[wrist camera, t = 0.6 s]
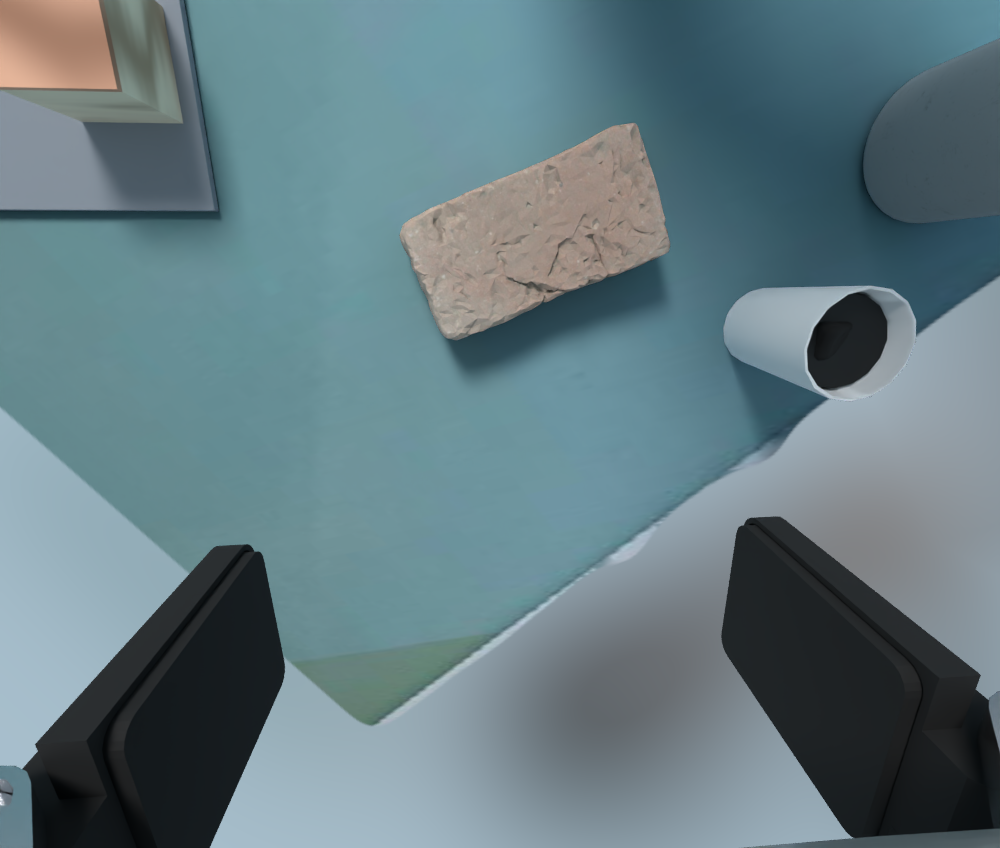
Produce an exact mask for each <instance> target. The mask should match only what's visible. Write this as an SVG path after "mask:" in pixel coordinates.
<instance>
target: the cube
mask: <svg viewBox="0 0 1000 848" xmlns="http://www.w3.org/2000/svg"><path fill="white" fill-rule="evenodd" d="M0 90H1V91H4V92H6V93H9V94H12V95H14V96H17V97H19V98H22V99H25V100H27V101H30V102H32V103H35V104H37V105H40V106H43V107H45V108H48V109H50V110H53V111H56V112H58V113H61V114H63V115H66V116H68V117H71V118H74V119H76V120H79V121H81V122H115V123H178V124H183V119H182V113H181V108H180V102H179V96H178V91H177V85H176V79H175V74H174V68H173V62H172V57H171V51H170V45H169V40H168V34H167V29H166V23H165V17H164V12H163V7H162V6H161V5H160V4H158V3H157V2H156V1H155V0H0Z"/></svg>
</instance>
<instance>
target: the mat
mask: <svg viewBox="0 0 1000 848" xmlns="http://www.w3.org/2000/svg"><path fill="white" fill-rule="evenodd" d="M155 1H156V2H157V3H158V4H160V5H161V6H162V7H163V12H164V17H165V23H166V29H167V34H168V40H169V45H170V51H171V57H172V62H173V68H174V74H175V79H176V85H177V91H178V96H179V102H180V108H181V113H182V119H183V124H178V123H115V122H81V121H79V120H76V119H74V118H71V117H68V116H66V115H63V114H61V113H58V112H56V111H53V110H50V109H48V108H45V107H43V106H40V105H37V104H35V103H32V102H30V101H27V100H25V99H22V98H19V97H17V96H14V95H12V94H9V93H6V92H4V91H1V90H0V210H18V211H219V209H218V203H217V197H216V191H215V185H214V179H213V173H212V167H211V161H210V155H209V149H208V143H207V137H206V131H205V125H204V119H203V113H202V107H201V101H200V94H199V88H198V82H197V76H196V70H195V64H194V58H193V52H192V46H191V40H190V34H189V28H188V22H187V16H186V10H185V4H184V0H155Z"/></svg>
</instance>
